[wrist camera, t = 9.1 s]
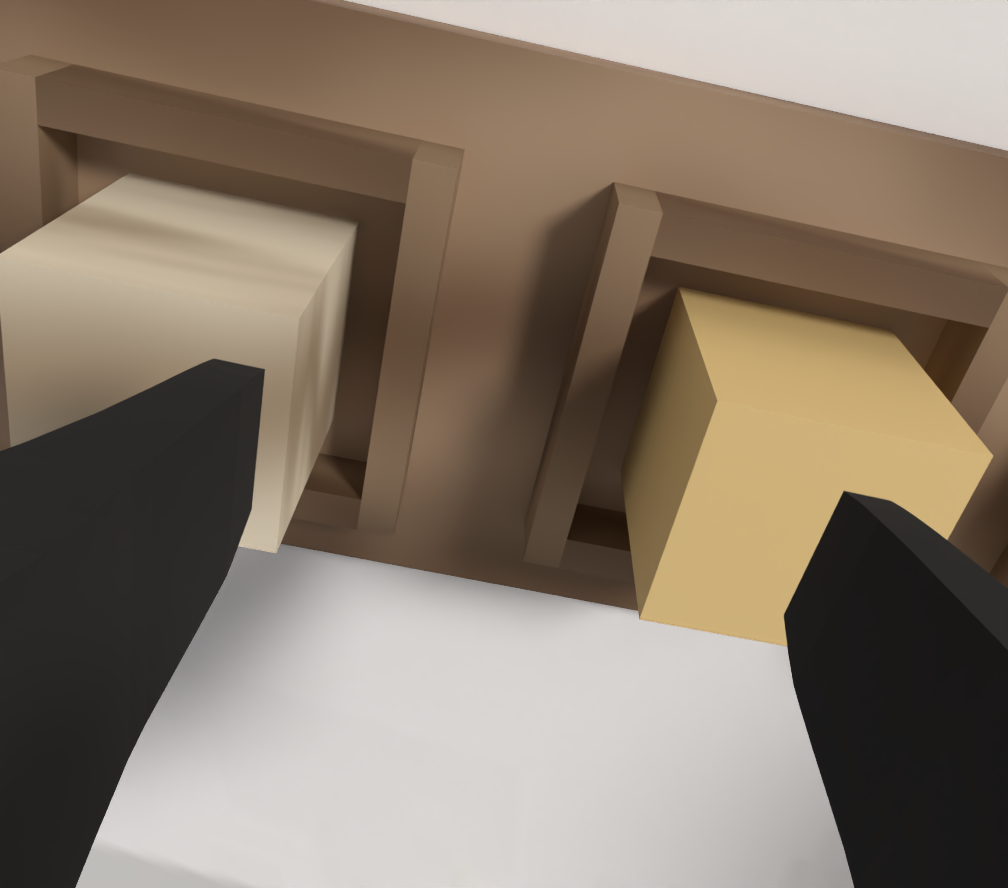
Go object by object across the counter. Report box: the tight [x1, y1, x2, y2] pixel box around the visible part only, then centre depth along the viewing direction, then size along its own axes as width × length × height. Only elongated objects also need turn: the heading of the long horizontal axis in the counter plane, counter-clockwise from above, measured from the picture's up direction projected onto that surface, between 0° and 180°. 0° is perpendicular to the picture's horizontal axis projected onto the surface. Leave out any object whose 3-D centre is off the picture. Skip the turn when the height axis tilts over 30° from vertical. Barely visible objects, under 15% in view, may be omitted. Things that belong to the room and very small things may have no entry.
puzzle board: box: [0, 0, 1008, 611], centre depth 18 cm, size 12×33×6 cm, turn 78°
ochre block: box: [621, 287, 993, 646], centre depth 18 cm, size 4×4×5 cm
